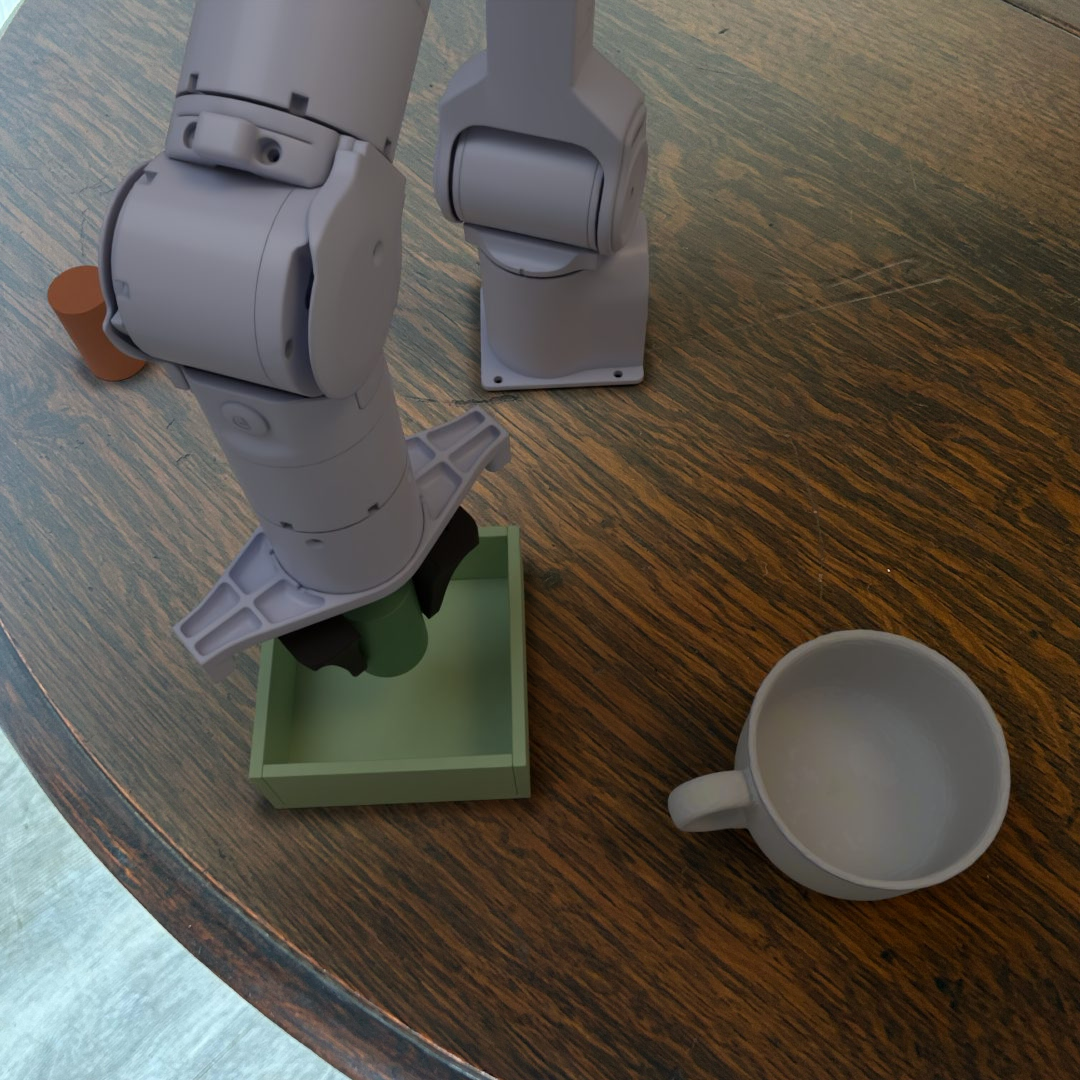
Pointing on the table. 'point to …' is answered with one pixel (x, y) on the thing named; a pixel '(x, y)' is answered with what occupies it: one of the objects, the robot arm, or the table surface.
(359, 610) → the green peg
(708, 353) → the table surface
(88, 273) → the terracotta peg
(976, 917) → the table surface
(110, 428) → the table surface
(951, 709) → the teacup
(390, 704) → the green bin
